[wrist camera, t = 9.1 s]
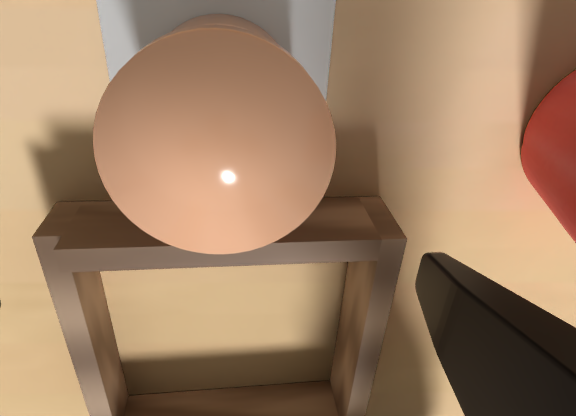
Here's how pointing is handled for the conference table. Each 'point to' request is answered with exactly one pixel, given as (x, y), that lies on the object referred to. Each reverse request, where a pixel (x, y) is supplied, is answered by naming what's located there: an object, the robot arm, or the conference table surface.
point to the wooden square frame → (158, 255)
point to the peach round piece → (214, 138)
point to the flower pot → (554, 151)
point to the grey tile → (243, 3)
